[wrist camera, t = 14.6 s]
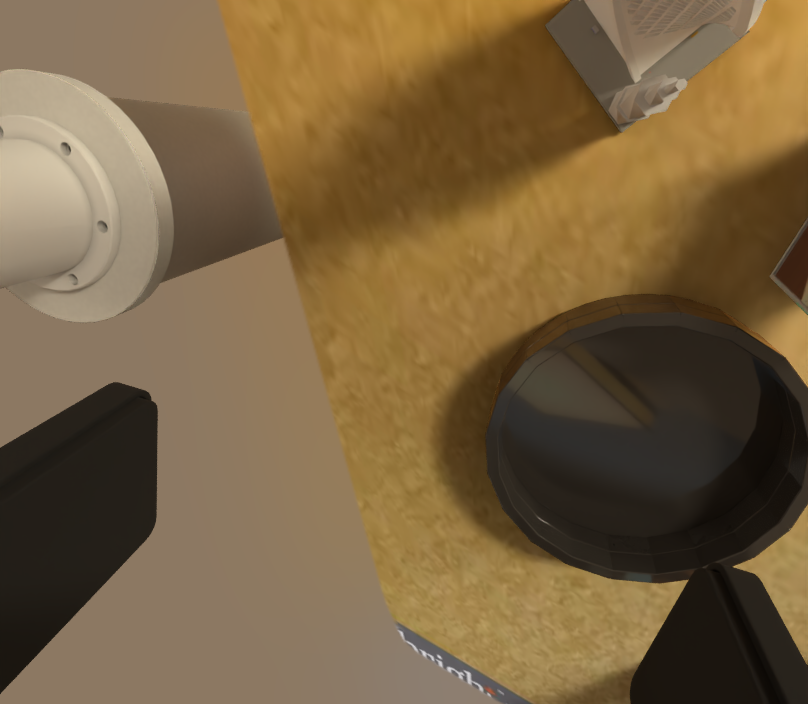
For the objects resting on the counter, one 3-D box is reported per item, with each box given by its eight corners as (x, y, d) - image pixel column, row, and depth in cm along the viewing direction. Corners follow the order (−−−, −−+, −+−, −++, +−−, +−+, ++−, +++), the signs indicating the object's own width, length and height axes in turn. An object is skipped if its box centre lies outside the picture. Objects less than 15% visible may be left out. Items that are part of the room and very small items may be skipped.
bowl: (463, 492, 40) (455, 527, 37) (537, 259, 33) (537, 274, 29) (712, 574, 38) (731, 620, 34) (856, 342, 30) (899, 369, 27)
